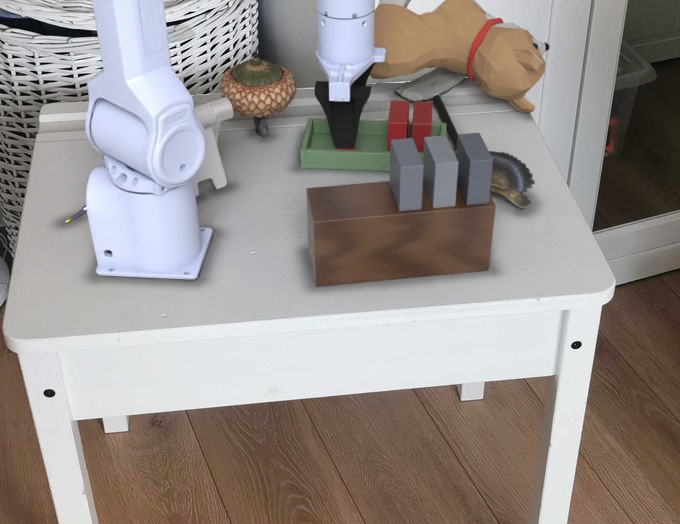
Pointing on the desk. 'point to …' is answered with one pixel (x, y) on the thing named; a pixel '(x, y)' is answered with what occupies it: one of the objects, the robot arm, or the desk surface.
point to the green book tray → (367, 149)
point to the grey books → (440, 171)
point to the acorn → (258, 90)
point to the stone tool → (430, 84)
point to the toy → (460, 47)
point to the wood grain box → (393, 235)
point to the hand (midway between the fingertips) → (346, 132)
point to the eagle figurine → (510, 178)
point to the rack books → (400, 122)
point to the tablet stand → (212, 141)
